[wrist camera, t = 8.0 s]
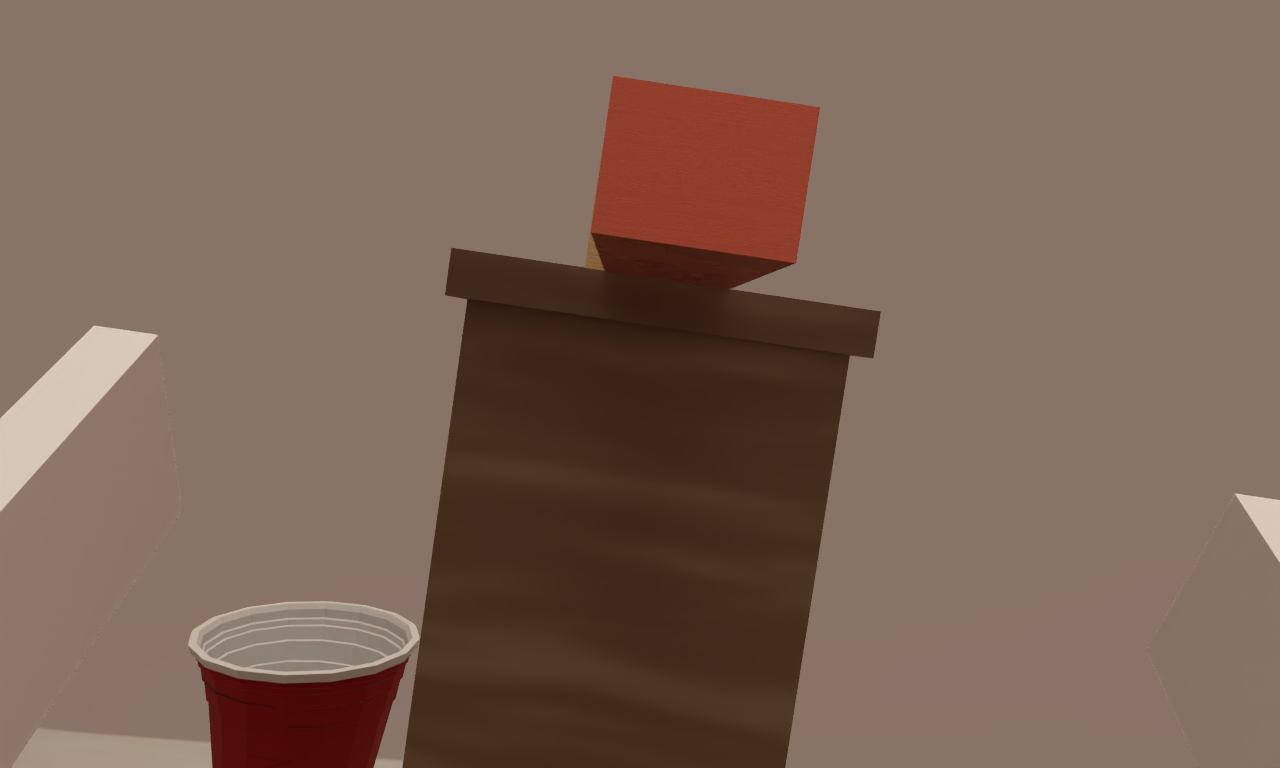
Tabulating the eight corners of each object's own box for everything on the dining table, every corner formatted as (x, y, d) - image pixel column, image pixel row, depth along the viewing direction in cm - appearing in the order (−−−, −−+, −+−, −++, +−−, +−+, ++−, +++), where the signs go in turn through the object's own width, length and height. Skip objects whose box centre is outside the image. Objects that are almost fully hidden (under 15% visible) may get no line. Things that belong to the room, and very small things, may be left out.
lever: (852, 271, 16) (894, 11, 16) (532, 223, 16) (569, -40, 16) (717, 306, 40) (733, 201, 40) (588, 286, 40) (603, 182, 40)
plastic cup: (149, 821, 54) (178, 593, 54) (358, 802, 60) (386, 594, 59) (169, 942, 45) (204, 667, 44) (415, 906, 50) (449, 660, 50)
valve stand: (705, 1420, 28) (880, 311, 27) (297, 1368, 28) (451, 248, 27) (678, 1042, 43) (789, 318, 42) (411, 1007, 43) (514, 277, 42)
